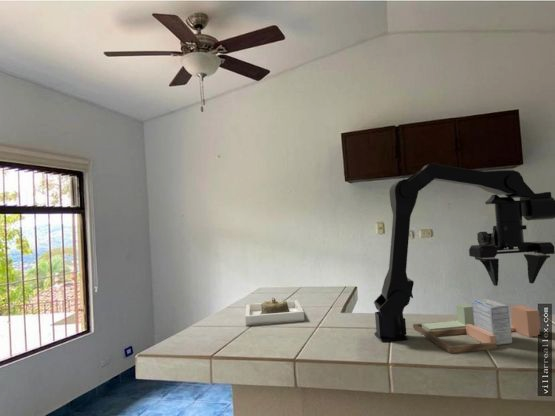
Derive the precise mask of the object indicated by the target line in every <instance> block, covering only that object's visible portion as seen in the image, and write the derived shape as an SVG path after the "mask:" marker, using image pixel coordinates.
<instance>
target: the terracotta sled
mask: <svg viewBox="0 0 555 416" xmlns="http://www.w3.org/2000/svg"><path fill="white" fill-rule="evenodd" d="M510 320H511V332H515V333H516V332H517V333H519V334H521V335H524V336H526V337H528V338H532V337H533V336H534V337H539V336H538V334H539V329H541V319H540V310H538V309H536V308H532V307H529V306H526V305H523V304H519V305H510ZM466 335H467V336H469V337H472V338H473V339H474V340H477V341H479V342H481V343H491V342H495V343H496V338H495V335H493V334H491V333H489V332H486V331H484V330H482V329H480V328H478V327H476V326H474V325H472V324H466Z"/></svg>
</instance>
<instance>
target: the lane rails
mask: <svg viewBox="0 0 555 416" xmlns="http://www.w3.org/2000/svg"><path fill="white" fill-rule="evenodd" d="M449 321H450V320H449ZM449 321H448V320H447V321H444V322H449ZM437 322H438V321H437ZM437 322H436V321H435V322H433V323H437ZM422 324H426V322H425V323H413V324H412V328H414V329H415V331H416V332H417V331H418V333H419V332H420V333H421V334H420V333H419V334H420V335H422V336H423V335H424V336H423V337H424V338H426V337H427V339H428V340H429V339H430V340H429V341H431V342H432V341H433V342H432V343H434V344H435V343H436V344H435V345H437V346H438V347H440V348H442V350H445V351H446V352H447V353H449V354H454V353H464V352H476V351H486V350H487V351H489V350H497V349H498V345H497V343H495V342H491V343H483V342H481V343H471V344H460V345H459V344H458V345H449V343H447V342H445V341H444V340H442V339H440V338H439V337H442V336H452V335H464V334H466V335H467V333H466V328H456V329H444V330H433V331H426V330H425V329H423V328H422ZM414 329H413V330H414Z"/></svg>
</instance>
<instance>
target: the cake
mask: <svg viewBox="0 0 555 416" xmlns="http://www.w3.org/2000/svg"><path fill="white" fill-rule="evenodd" d="M286 301H287V300H281V301H276V298H275V297H272V299H271V300H267V301H264V302H261V303H262V304H261V313H260V314H272V313H284V312H289V308H288V304H287V302H286ZM278 302H279V303H278Z"/></svg>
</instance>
